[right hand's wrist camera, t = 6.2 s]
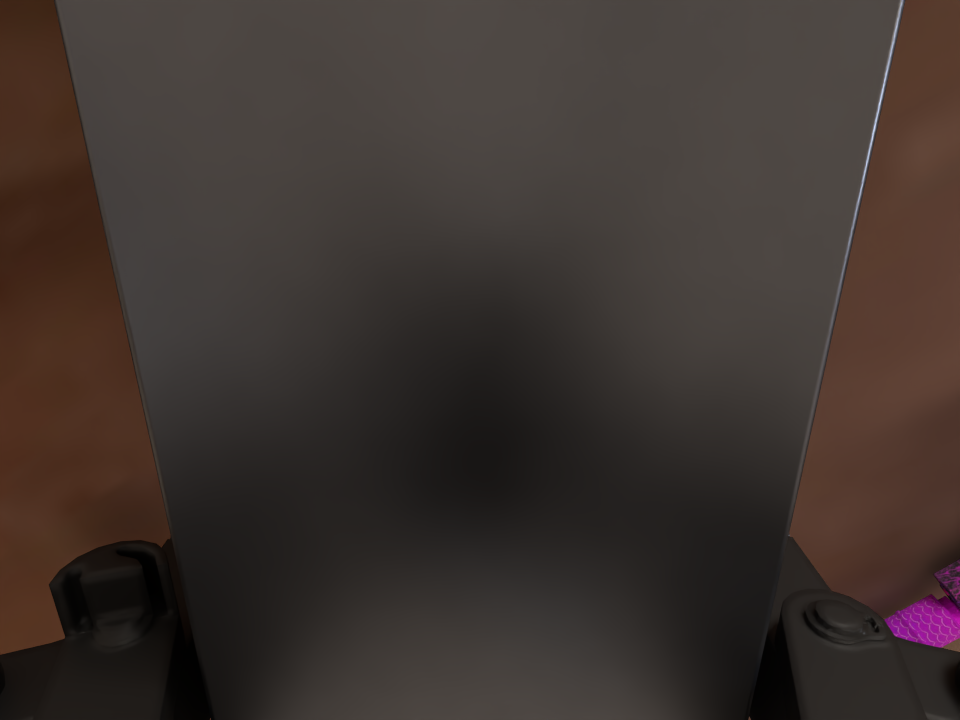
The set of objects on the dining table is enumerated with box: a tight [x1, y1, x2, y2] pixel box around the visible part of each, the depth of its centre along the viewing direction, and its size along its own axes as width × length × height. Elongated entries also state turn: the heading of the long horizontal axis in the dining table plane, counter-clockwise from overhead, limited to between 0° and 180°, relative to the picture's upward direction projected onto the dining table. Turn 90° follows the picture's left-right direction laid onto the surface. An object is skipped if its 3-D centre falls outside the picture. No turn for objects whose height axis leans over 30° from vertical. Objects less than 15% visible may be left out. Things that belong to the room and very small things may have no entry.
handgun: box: [749, 559, 960, 717], centre depth 26 cm, size 21×8×2 cm, turn 131°
